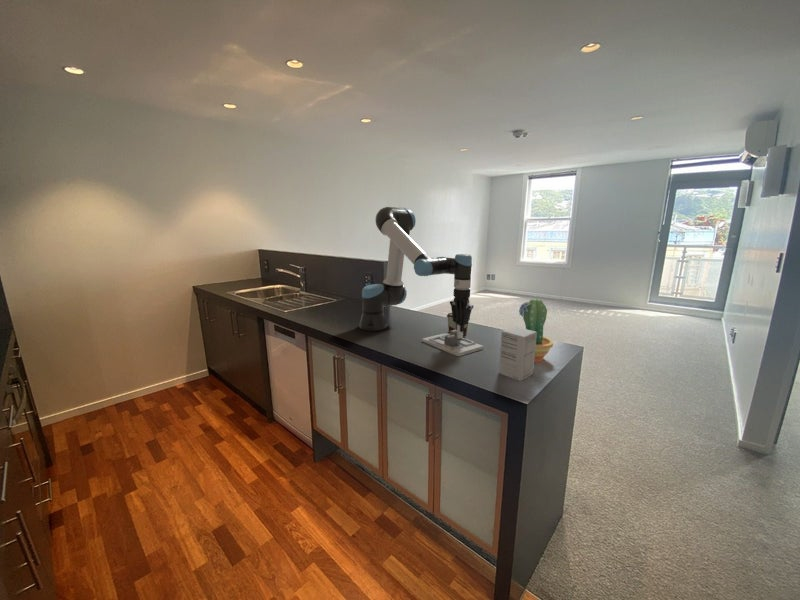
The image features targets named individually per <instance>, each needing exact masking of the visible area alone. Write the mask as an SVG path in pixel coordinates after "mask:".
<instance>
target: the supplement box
mask: <svg viewBox="0 0 800 600" xmlns="http://www.w3.org/2000/svg"><path fill="white" fill-rule="evenodd" d="M500 335H501V336H500V349H499V350H500V352H499V364H498V365H499V367H498V368H499V369H498V374H500V375H502V376H506V377H508V378H511V379H513V380H517V381H519V382H521V381H524V380H525V379H527V378H529V377H531V376H532V375H534V369H535V368H534V367H535V362H534V359H535V348H536V337H537V332H535V331H531V330H527V329H526V328H523V327H519V326H513V327H510V328H507V329H504V330H502V331H501V334H500Z"/></svg>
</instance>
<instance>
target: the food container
mask: <svg viewBox="0 0 800 600" xmlns="http://www.w3.org/2000/svg"><path fill="white" fill-rule="evenodd" d="M446 318H447V328H448V329H447V330H448V333H449V332H450V331H452V330H456V322H453V317H452V312H448V313H447V314H446ZM470 320H471V317H470V318H469V321H470ZM468 326H469V323H468V324H465V325H464V332H463V335H464V334H466V335H467V332H468V329H469V328H468Z"/></svg>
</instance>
